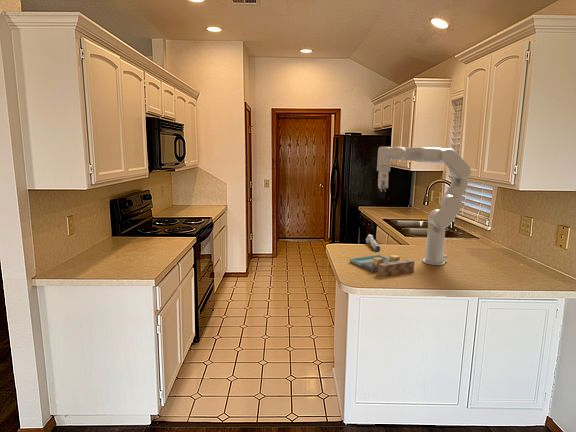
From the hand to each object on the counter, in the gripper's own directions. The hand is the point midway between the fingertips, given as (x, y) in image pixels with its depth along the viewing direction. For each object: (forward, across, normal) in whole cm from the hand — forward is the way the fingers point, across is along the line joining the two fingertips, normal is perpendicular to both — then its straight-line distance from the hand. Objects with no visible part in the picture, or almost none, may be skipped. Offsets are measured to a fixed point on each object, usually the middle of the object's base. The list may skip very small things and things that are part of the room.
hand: (381, 197), depth 239 cm
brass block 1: (+35, -21, +2) cm, 41 cm away
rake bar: (+38, -25, -7) cm, 45 cm away
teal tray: (+37, -7, +5) cm, 38 cm away
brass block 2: (+35, -15, -8) cm, 38 cm away
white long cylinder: (+38, +33, 0) cm, 50 cm away
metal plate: (+37, -16, -1) cm, 40 cm away
